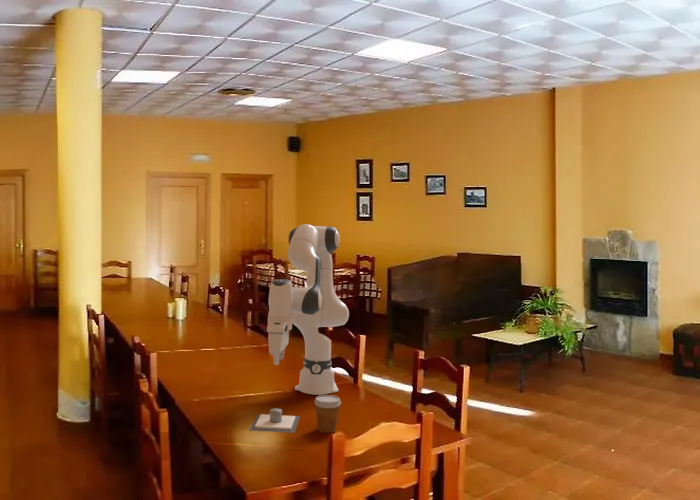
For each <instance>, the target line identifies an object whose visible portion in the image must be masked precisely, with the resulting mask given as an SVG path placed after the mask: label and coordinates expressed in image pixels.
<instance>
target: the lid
mask: <svg viewBox="0 0 700 500" xmlns="http://www.w3.org/2000/svg"><path fill="white" fill-rule="evenodd" d="M260 414H261V415H260V417H259V419H258V421H257V423H256V425H255V428H262V429H280V430H291V429H292V426H293V423H294V421H295V416H296V415H285V416H283V409H282V408H277V407H276V408H271V409H269V414H266V415H265V414H264V413H260Z"/></svg>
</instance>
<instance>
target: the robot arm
mask: <svg viewBox="0 0 700 500" xmlns="http://www.w3.org/2000/svg"><path fill="white" fill-rule="evenodd" d="M340 242H341V236H340V232H339V230H338V229H337V228H336V227H335V226H329V225H328V226H323V225H312V224H308V223H304V224H301V225H299V226H298V227H296V228H295V227H294V228H293V229H291V231H289V233H288V248H287V258H288V261H289V262H290V263H291V265H292V266H293V267H295V268H297V269H298V270H299V271H300V270H301V271H303V272H306V287H300V286H293V283H292V281H291V280H290V279H287V278H278V279H274V280H272V281H271V282H270V284H269V292H268V293H269V294H268V307H269V311H268V314H267V326H266V332H267V333H268V335H267V336H268V352H269V354H270V355H272V358H273V365H274V366H279V365H280V360H281V361H282V360H284V359H285V351H286V348H287V346H288V345H289V338H290V337H289V336H290V335H289V334H290V333H289V332H290V331H291V330H292V329H293V325H294V326H295V327H296V328H297V329H298V330H299V331H300V332H301V334H302V337H303V340H304V350H305V351H304V353H305V354H304V358H303V368H302V369H300V371H299V383H298V384H297V385H295V386H294V390H295V391H298V392H301V393H304V394H307V395H313V396H314V395H316V396H317V395H318V396H321V395H328V394H329V395H330V394H332V393H338V392H339V388H338V386H337V384H336V380H335V372H334V371H333V370H332V364H333V363H332V356H331V353H332V342H331V340H330V338H329V337H327V336H326V335H324V334H322V333H320V332H319V328H323V327H324V328H335V327H340V326H344V325H346V323H347V322H348V321H349V317H350V311H349V308H348V307H347V304H345V303H344V302H343V301H342V300H341V299H340V298H339V297H338V296H337V294H336V291H335V287H334V280H333V279H334V277H333V276H334V274H333V270H334V269H333V268H334V267H333V266H334V265H333V257H332V256H333V254H334V252H335V251H337V249H338V248H339V246H340Z"/></svg>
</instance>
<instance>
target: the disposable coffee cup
mask: <svg viewBox="0 0 700 500" xmlns="http://www.w3.org/2000/svg"><path fill="white" fill-rule="evenodd" d="M341 404H342V402H341V398H340V397H339V396H336V395H332V394H331V395H330V394H329V395H328V394H323V395H318V396H316V397H315V400H314V405H315V413H316V415H315V416H316V425H317V431H318V432H320V433H324V434H325V433H326V434H330V433H333V432H335V433H336V428H337V425H338V424H337V422H338V417H339V410H340V406H341Z"/></svg>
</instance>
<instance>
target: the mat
mask: <svg viewBox="0 0 700 500" xmlns="http://www.w3.org/2000/svg"><path fill="white" fill-rule="evenodd" d="M261 414H262V413H258V414H257V416H256V417H255V419H254V420H253V423H252V424H251V426H250V429H249V431H254V432H270V433H271V432H273V433H289V434H295V432H296V430H297V426H298V424H299V421H300V419H301V416H300V415H294V416H295V421H294V423H293V426H292V429H291V430H280V429H262V428H255V425H256V423H257V421H258V419H259V417H260V415H261ZM265 415H267V414H265ZM282 415H283V414H282ZM283 416H286V415H283Z"/></svg>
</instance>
